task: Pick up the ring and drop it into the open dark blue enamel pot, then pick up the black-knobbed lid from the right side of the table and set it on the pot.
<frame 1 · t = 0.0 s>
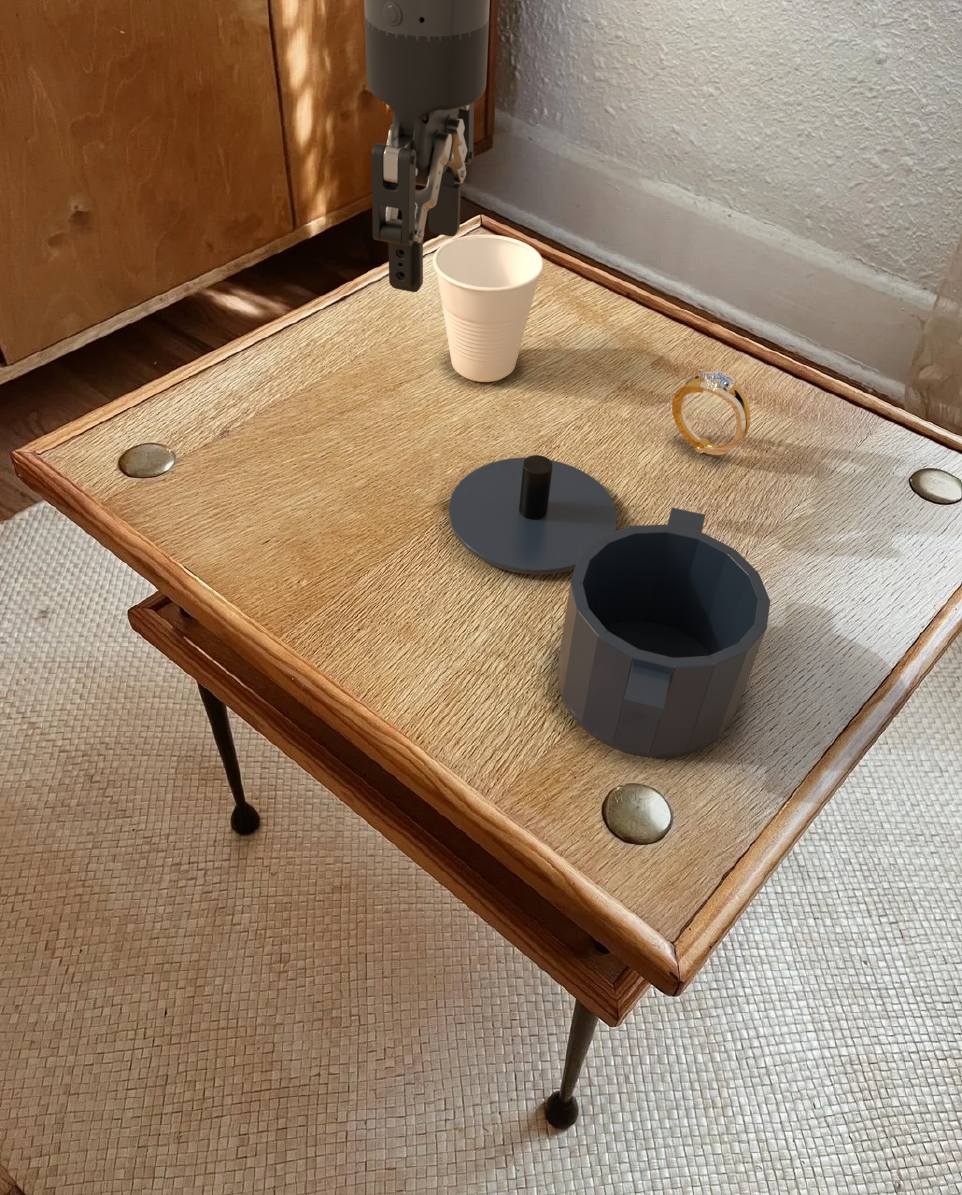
hand: (425, 259, 73), 20 cm above the table, tool pointing down, fingers open, 8 cm apart
pot: (646, 683, 73), on the table
lid: (532, 515, 84), point 1 cm above the table
cup: (483, 367, 99), on the table
ring: (700, 452, 92), on the table
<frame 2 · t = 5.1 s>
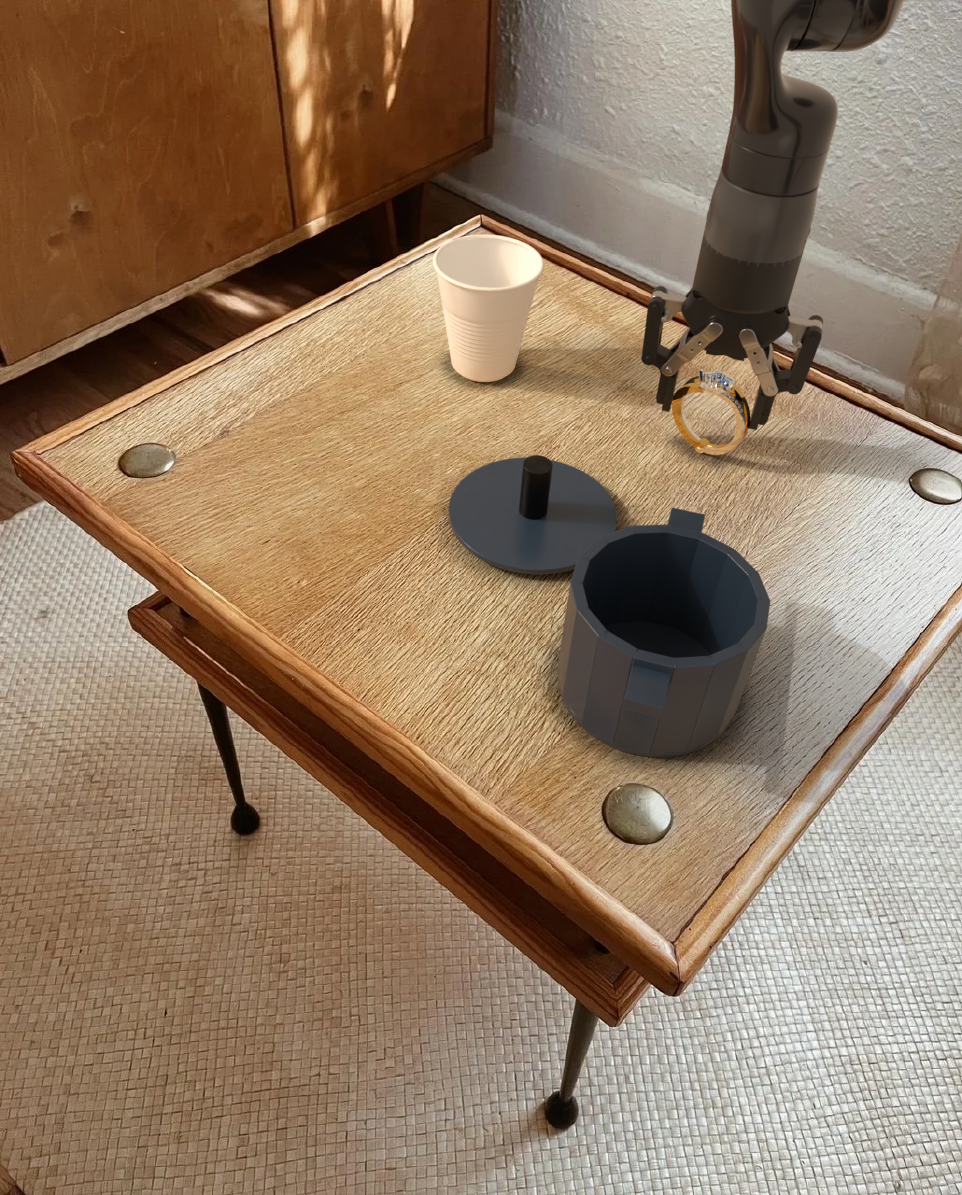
hand: (710, 415, 89), 4 cm above the table, tool pointing down, fingers closed on ring, 7 cm apart
ring: (700, 452, 92), on the table, touching gripper
everything else where it was.
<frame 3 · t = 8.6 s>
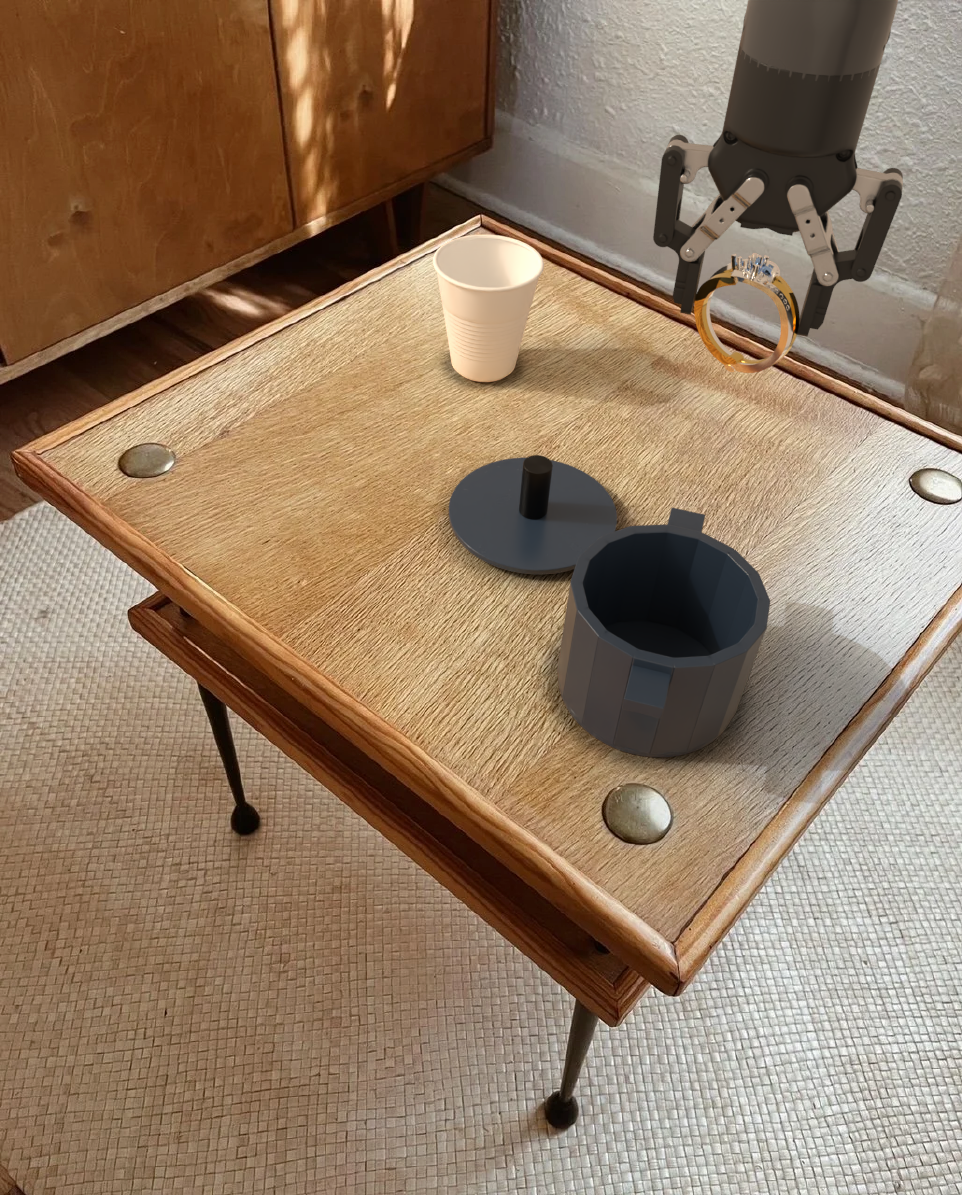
hand: (744, 318, 67), 21 cm above the table, tool pointing down, fingers closed on ring, 7 cm apart
ring: (731, 371, 70), point 17 cm above the table, touching gripper
everything else where it was.
when the fingers open (14 cm above the table, at t = 12.6 s): ring drops 9 cm, resting on pot.
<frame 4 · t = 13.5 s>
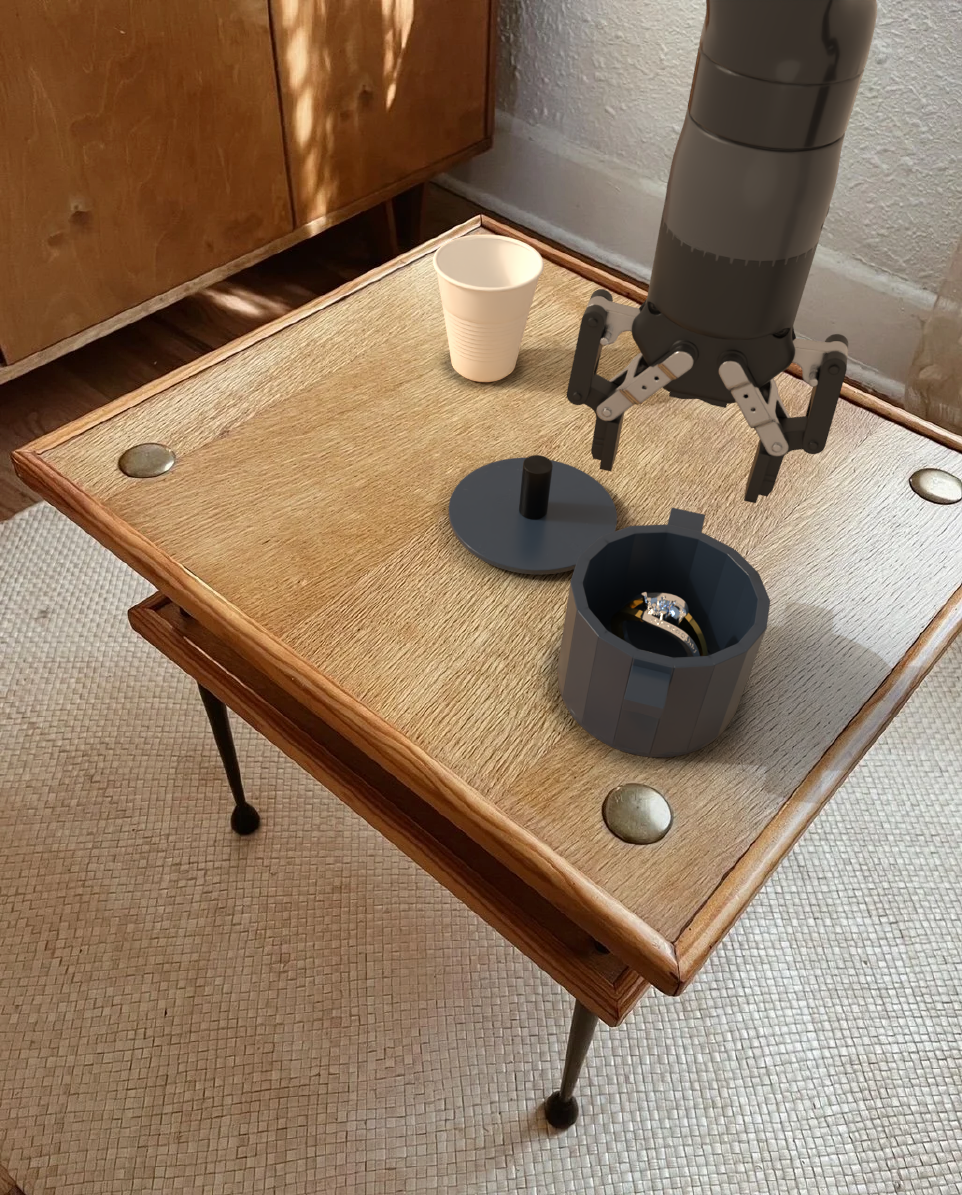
hand: (679, 478, 61), 18 cm above the table, tool pointing down, fingers open, 8 cm apart
ring: (648, 680, 72), resting on pot
everything else where it was.
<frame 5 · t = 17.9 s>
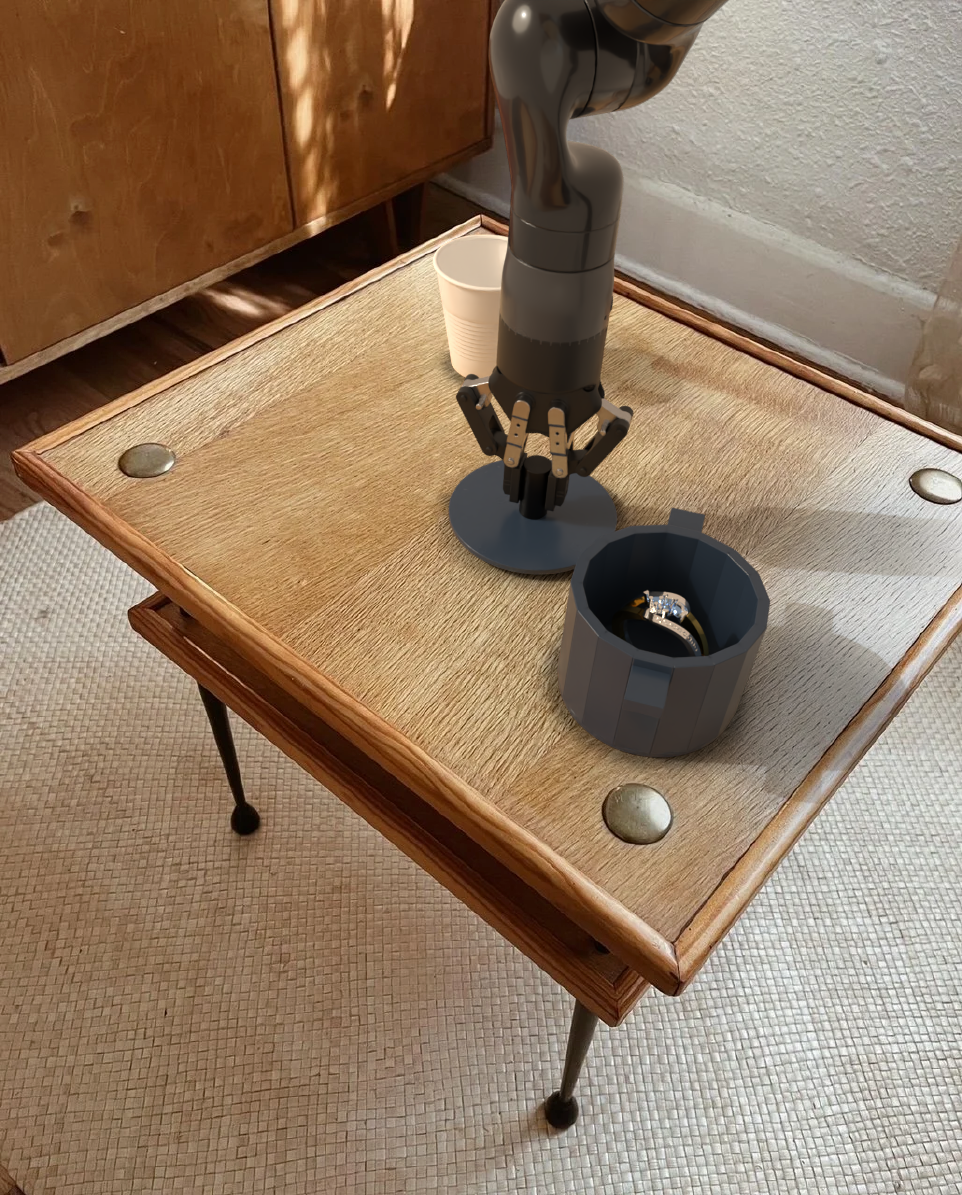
hand: (534, 499, 82), 2 cm above the table, tool pointing down, fingers closed on lid, 2 cm apart
lid: (532, 515, 84), point 1 cm above the table, touching gripper
everything else where it was.
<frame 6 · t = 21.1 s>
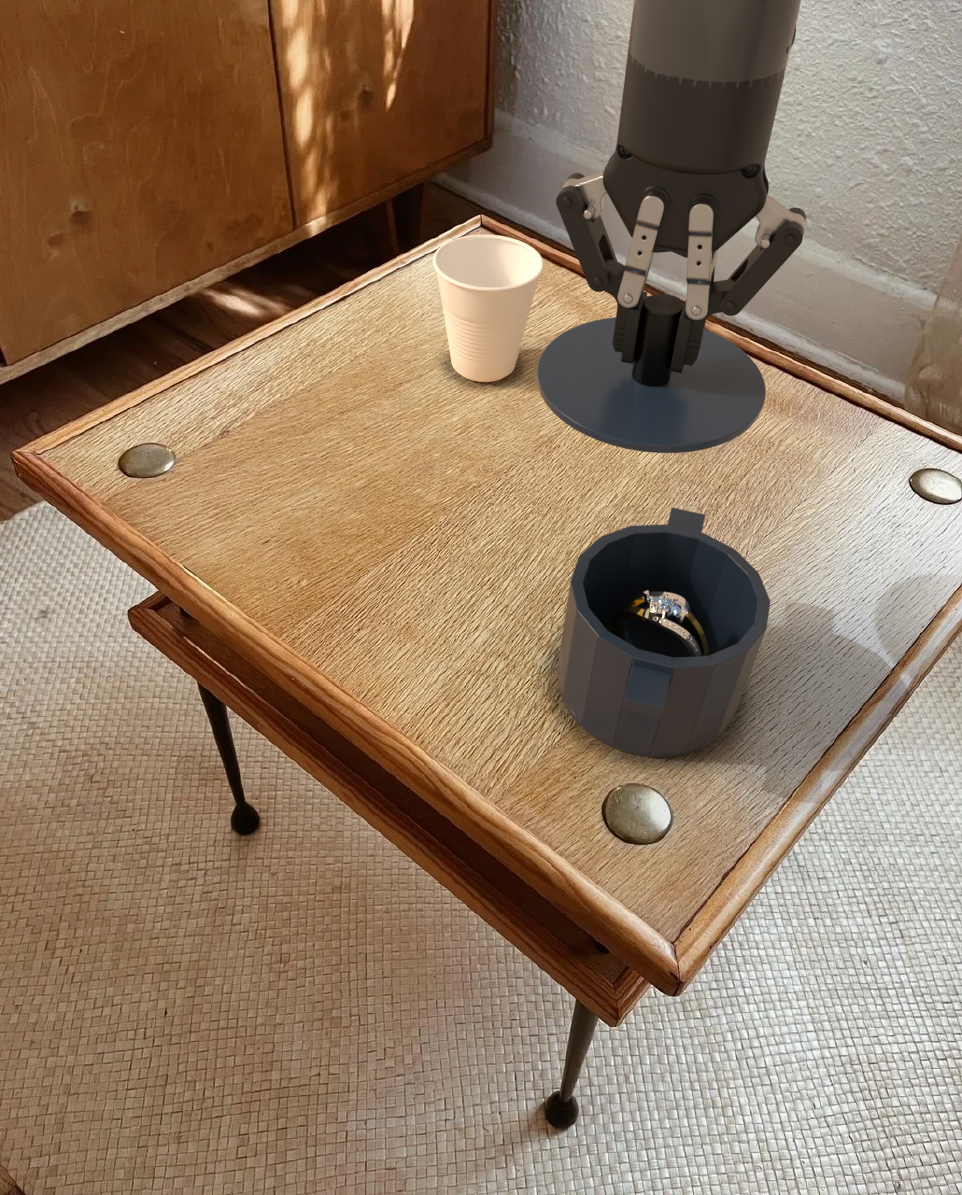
hand: (654, 359, 61), 22 cm above the table, tool pointing down, fingers closed on lid, 2 cm apart
lid: (649, 383, 62), point 21 cm above the table, touching gripper
everything else where it was.
when the fingers open (11 cm above the table, at t = 24.6 s): lid stays where it is, resting on pot.
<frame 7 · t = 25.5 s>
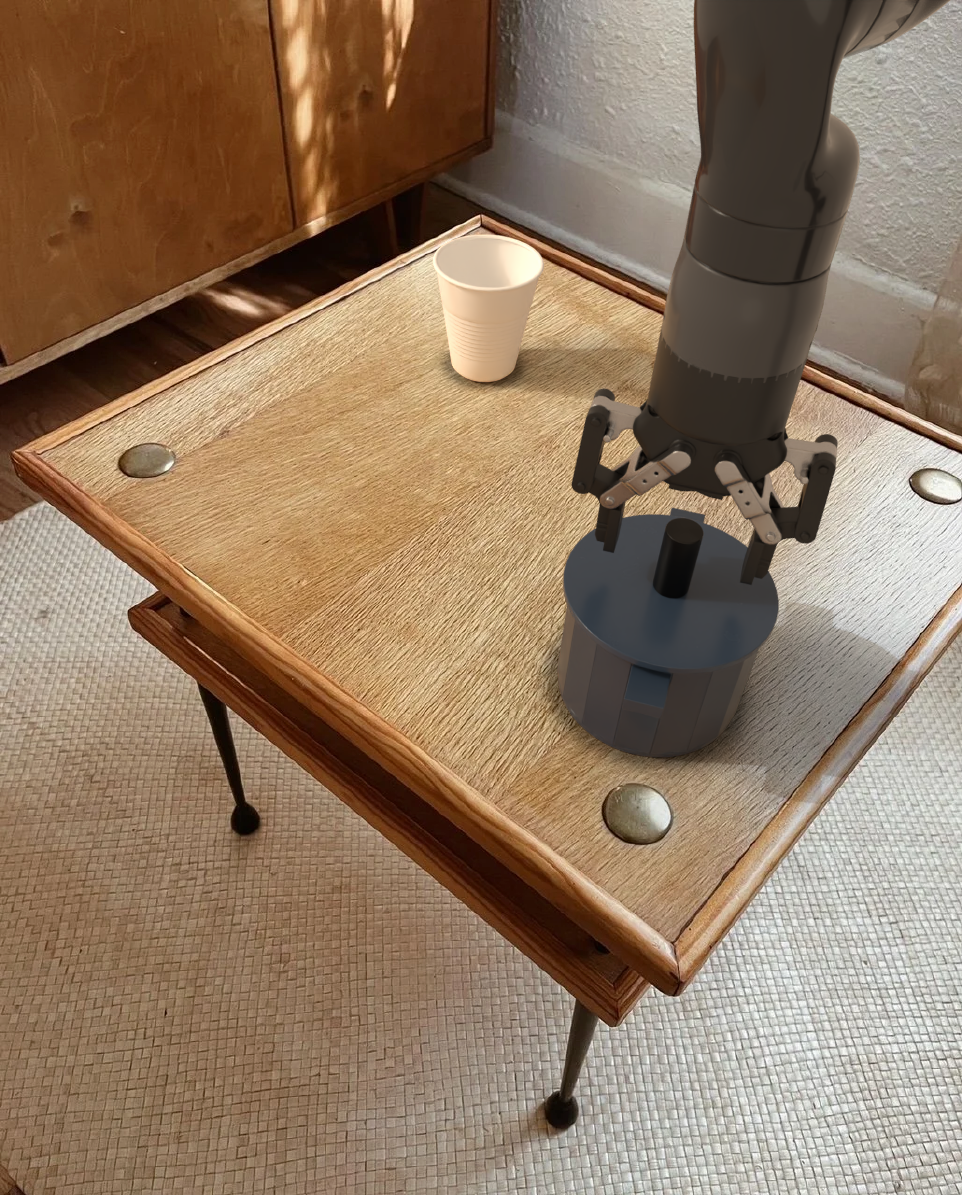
hand: (678, 559, 64), 12 cm above the table, tool pointing down, fingers open, 8 cm apart
lid: (669, 591, 66), point 9 cm above the table, touching pot
everything else where it was.
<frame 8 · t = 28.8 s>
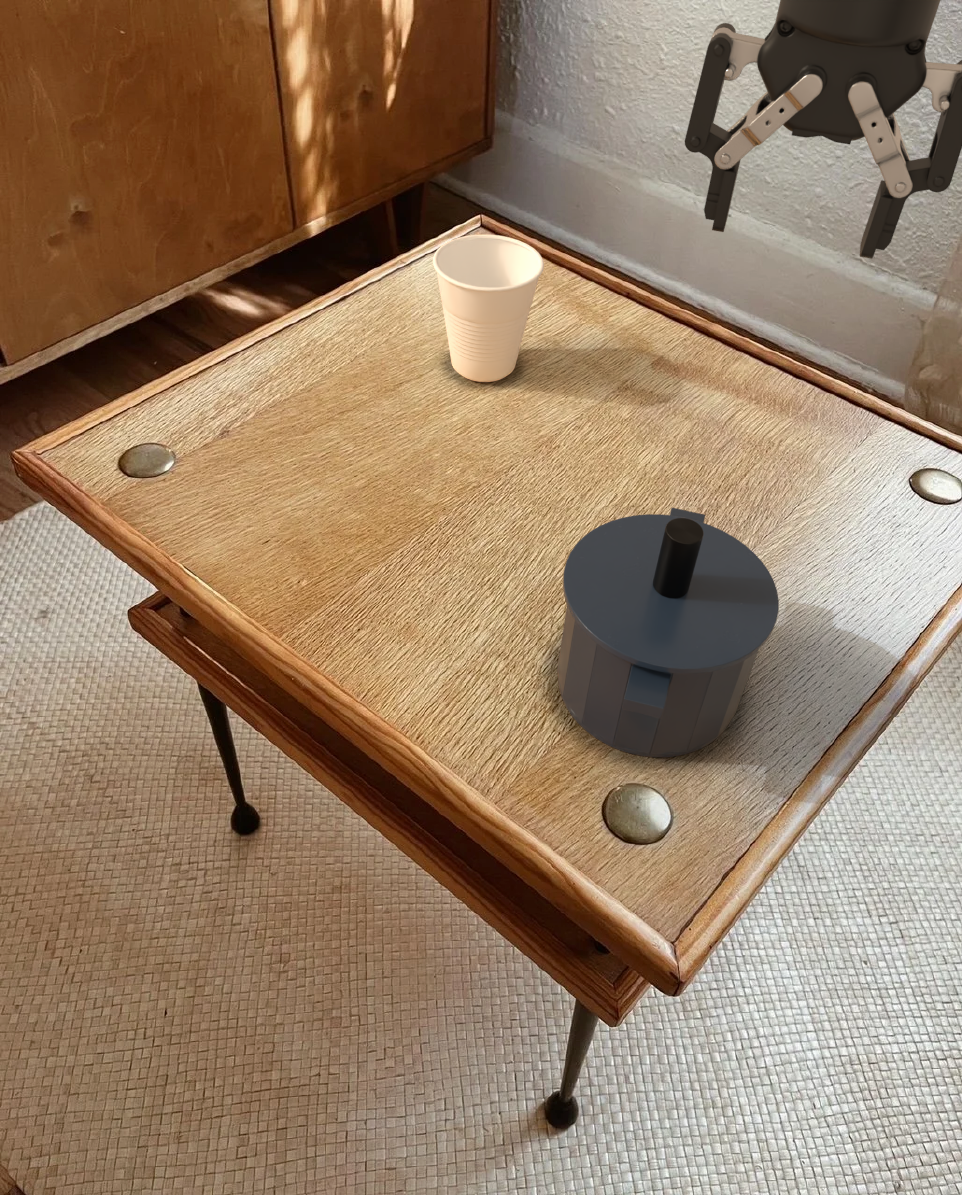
hand: (792, 238, 60), 28 cm above the table, tool pointing down, fingers open, 8 cm apart
nothing on the table moved.
at the end: ring inside the target area in the pot (0.1 cm from its centre), point 0.3 cm above the pot's base; lid 0.1 cm off-centre on the pot, point 9.5 cm above the pot's base; lid tilted 0° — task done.
